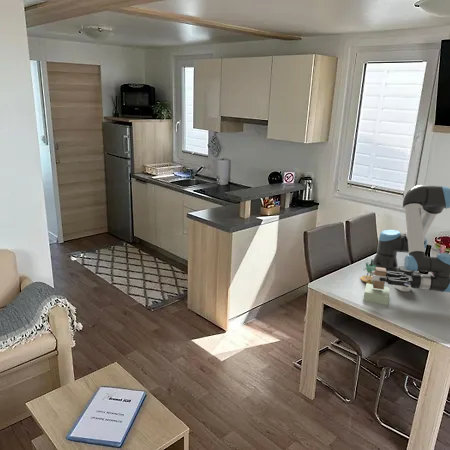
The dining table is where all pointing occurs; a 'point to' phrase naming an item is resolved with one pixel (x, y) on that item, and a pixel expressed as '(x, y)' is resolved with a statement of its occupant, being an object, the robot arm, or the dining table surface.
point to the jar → (407, 272)
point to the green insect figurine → (369, 269)
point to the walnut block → (379, 272)
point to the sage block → (376, 294)
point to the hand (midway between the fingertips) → (372, 275)
